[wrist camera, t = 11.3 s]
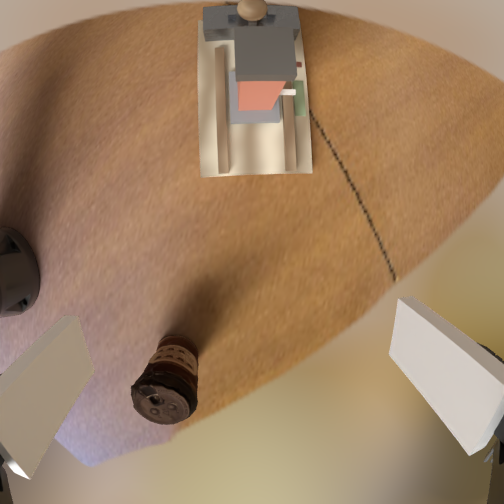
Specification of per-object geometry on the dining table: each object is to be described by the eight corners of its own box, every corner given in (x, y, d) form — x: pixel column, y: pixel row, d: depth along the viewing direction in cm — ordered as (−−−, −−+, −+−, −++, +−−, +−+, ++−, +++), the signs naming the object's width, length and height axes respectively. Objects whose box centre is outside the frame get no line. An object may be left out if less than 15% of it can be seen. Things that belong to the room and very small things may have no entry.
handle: (230, 124, 34) (228, 87, 20) (228, 74, 32) (226, 17, 18) (293, 123, 34) (327, 89, 20) (289, 73, 33) (318, 20, 19)
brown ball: (237, 26, 28) (237, 12, 24) (236, 5, 27) (236, -10, 23) (266, 25, 28) (270, 12, 25) (265, 5, 27) (268, -9, 24)
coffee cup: (154, 320, 41) (127, 370, 28) (208, 332, 42) (200, 388, 29) (150, 366, 43) (128, 421, 30) (200, 378, 44) (191, 436, 31)
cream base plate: (202, 177, 37) (199, 177, 34) (199, 25, 32) (197, 16, 29) (309, 173, 38) (314, 172, 35) (297, 24, 32) (301, 15, 30)
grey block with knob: (205, 41, 31) (202, 25, 27) (205, 19, 30) (202, 2, 26) (295, 40, 32) (302, 25, 27) (292, 18, 31) (299, 2, 26)
